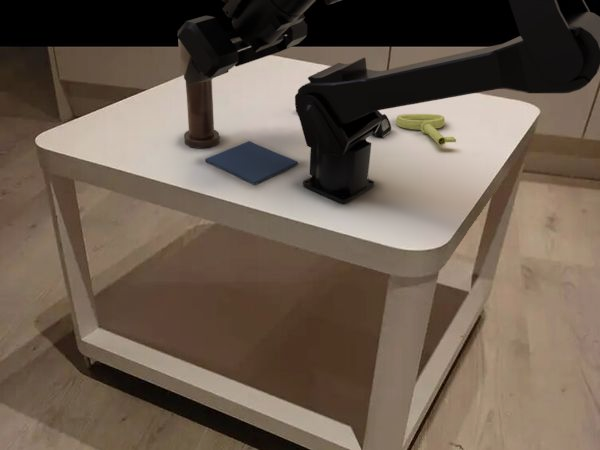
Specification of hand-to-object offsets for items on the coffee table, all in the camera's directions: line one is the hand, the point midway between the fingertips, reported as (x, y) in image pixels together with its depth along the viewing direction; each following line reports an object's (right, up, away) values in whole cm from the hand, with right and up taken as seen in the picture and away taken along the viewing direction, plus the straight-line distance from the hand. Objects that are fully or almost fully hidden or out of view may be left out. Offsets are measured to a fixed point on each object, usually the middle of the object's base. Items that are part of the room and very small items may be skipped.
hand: (211, 71), depth 79 cm
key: (+30, -6, +12) cm, 33 cm away
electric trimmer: (+17, -5, +14) cm, 23 cm away
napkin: (+5, -12, +1) cm, 13 cm away
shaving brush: (-2, -8, +6) cm, 10 cm away
